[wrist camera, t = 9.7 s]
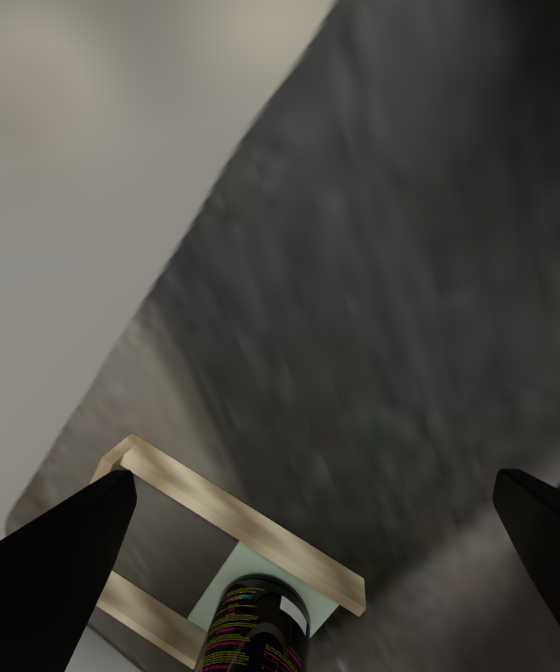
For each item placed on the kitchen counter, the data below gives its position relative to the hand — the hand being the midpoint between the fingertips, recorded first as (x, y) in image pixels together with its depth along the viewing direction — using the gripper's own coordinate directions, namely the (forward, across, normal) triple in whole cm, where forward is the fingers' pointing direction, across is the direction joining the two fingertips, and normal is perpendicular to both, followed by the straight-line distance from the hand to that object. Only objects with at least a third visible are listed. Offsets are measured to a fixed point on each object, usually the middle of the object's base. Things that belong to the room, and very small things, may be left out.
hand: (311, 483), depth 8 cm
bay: (+11, +6, +18) cm, 22 cm away
